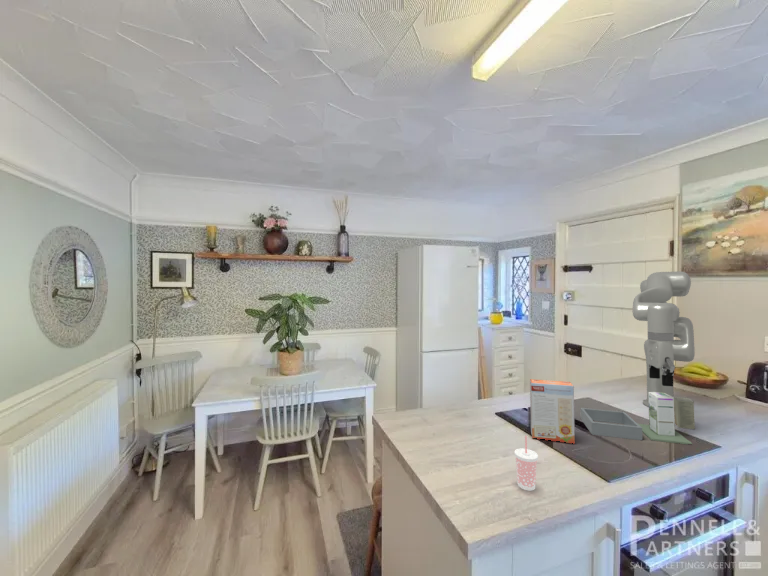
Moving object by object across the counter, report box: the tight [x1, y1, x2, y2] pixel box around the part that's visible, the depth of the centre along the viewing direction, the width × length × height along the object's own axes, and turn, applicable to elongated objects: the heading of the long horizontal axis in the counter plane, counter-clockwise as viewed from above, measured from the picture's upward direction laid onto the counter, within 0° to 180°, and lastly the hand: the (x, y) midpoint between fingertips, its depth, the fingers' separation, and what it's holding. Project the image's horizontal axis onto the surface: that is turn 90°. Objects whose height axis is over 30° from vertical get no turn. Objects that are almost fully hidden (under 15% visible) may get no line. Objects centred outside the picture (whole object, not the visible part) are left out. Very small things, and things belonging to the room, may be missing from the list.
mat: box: [638, 423, 693, 445], centre depth 122 cm, size 14×12×1 cm
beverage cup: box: [514, 435, 539, 491], centre depth 91 cm, size 6×6×14 cm
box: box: [674, 396, 696, 430], centre depth 128 cm, size 5×4×11 cm
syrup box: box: [648, 392, 676, 436], centre depth 122 cm, size 6×6×14 cm
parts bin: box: [580, 407, 643, 441], centre depth 127 cm, size 16×16×4 cm
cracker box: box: [529, 379, 576, 445], centre depth 119 cm, size 14×6×21 cm, turn 71°
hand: (660, 381), depth 122 cm, fingers open, 9 cm apart
